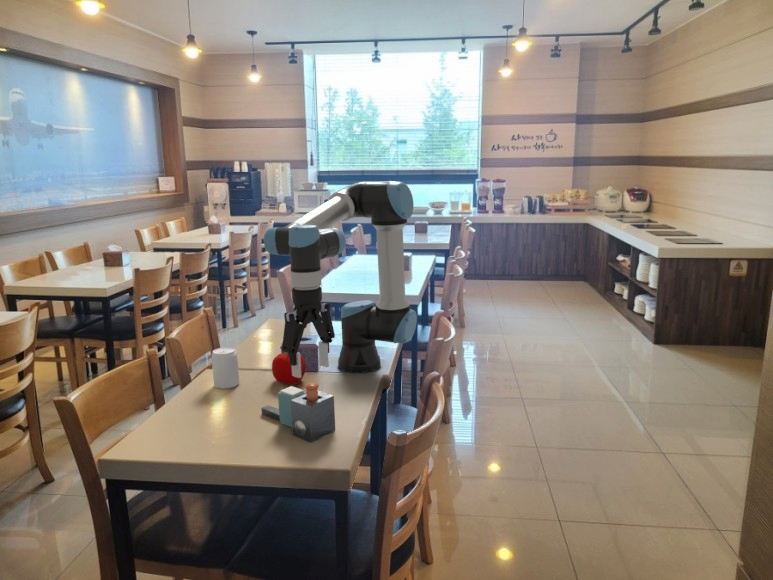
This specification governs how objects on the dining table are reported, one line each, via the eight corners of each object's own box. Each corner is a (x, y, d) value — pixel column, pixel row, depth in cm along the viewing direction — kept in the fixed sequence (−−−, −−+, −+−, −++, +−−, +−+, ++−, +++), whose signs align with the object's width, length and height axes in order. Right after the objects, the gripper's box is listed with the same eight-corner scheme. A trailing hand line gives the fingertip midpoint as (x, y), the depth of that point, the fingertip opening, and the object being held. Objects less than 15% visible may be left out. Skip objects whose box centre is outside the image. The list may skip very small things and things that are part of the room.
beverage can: (244, 383, 186) (242, 348, 183) (227, 391, 179) (224, 356, 176) (226, 379, 190) (223, 345, 187) (208, 387, 183) (205, 352, 180)
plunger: (313, 401, 151) (312, 381, 150) (321, 404, 149) (320, 384, 147) (303, 405, 148) (302, 385, 147) (312, 408, 146) (311, 388, 145)
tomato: (285, 391, 178) (283, 360, 176) (265, 380, 188) (263, 351, 186) (315, 382, 186) (313, 352, 183) (294, 372, 195) (292, 344, 193)
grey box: (317, 423, 156) (315, 389, 154) (335, 430, 151) (333, 395, 149) (291, 435, 149) (289, 400, 146) (309, 443, 144) (307, 407, 142)
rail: (268, 411, 164) (268, 405, 163) (308, 427, 153) (308, 420, 153) (261, 414, 162) (261, 407, 162) (301, 430, 151) (301, 423, 151)
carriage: (293, 416, 159) (291, 385, 157) (308, 421, 155) (306, 390, 153) (279, 422, 155) (277, 390, 153) (294, 428, 151) (292, 395, 149)
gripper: (326, 278, 152) (330, 357, 157) (262, 292, 136) (268, 380, 141) (346, 281, 147) (349, 362, 152) (283, 296, 131) (288, 387, 136)
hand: (310, 370), depth 146 cm, fingers open, 9 cm apart
